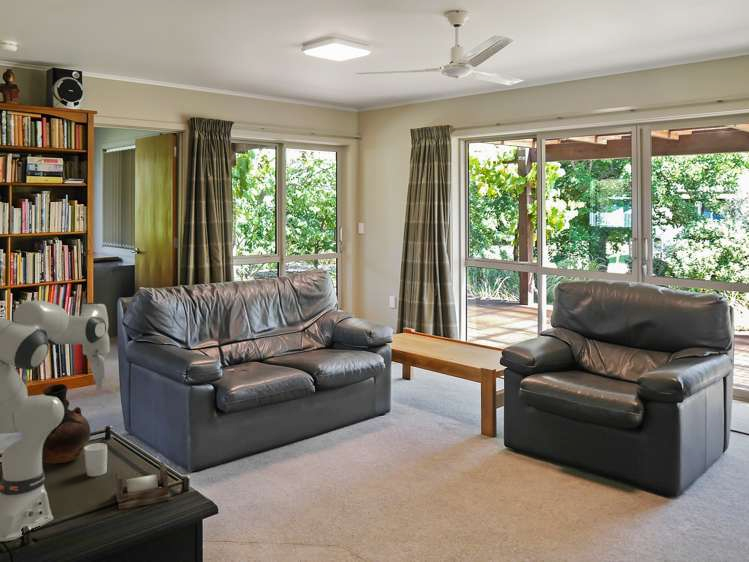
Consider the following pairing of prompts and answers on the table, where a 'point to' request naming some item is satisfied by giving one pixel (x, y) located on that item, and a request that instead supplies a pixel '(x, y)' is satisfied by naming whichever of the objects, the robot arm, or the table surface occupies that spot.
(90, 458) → the white cup
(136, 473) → the table surface
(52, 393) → the ceramic vessel
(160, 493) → the roll holder
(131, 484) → the paper roll
